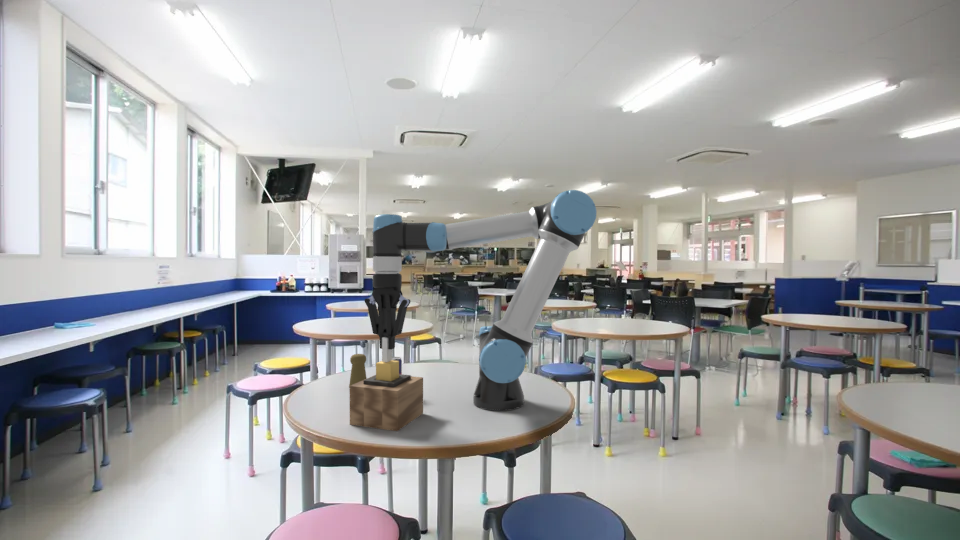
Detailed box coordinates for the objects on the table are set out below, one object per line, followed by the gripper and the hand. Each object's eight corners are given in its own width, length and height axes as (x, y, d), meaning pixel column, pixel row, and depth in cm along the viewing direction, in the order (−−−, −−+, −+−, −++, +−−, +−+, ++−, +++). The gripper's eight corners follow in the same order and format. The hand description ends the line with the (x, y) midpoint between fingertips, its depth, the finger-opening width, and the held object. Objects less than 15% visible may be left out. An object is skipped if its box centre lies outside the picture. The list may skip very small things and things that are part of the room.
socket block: (423, 413, 122) (423, 373, 122) (397, 431, 109) (397, 387, 109) (379, 408, 127) (379, 369, 127) (349, 424, 114) (349, 382, 114)
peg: (399, 394, 119) (399, 360, 119) (390, 398, 115) (390, 364, 115) (384, 392, 121) (384, 359, 121) (376, 397, 117) (375, 363, 117)
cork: (348, 385, 151) (348, 353, 151) (367, 383, 153) (366, 352, 153) (349, 389, 146) (349, 356, 145) (368, 388, 147) (367, 355, 147)
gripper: (415, 272, 119) (415, 360, 119) (374, 272, 123) (374, 356, 124) (401, 273, 112) (401, 366, 112) (358, 272, 116) (358, 362, 117)
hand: (387, 361), depth 118 cm, fingers closed
